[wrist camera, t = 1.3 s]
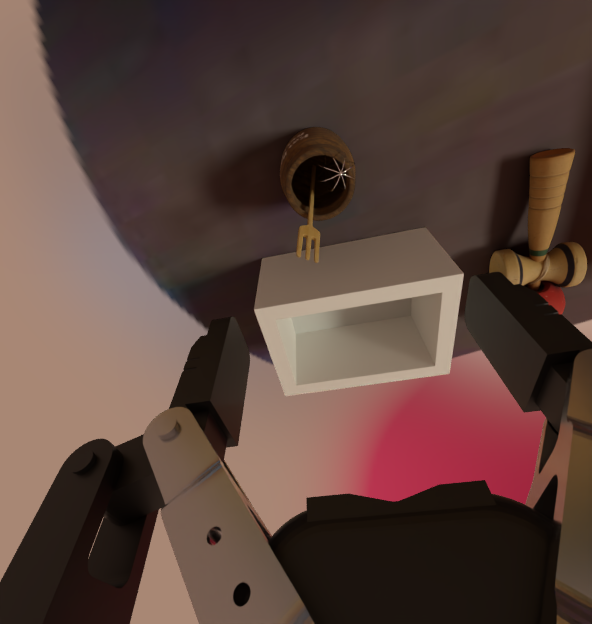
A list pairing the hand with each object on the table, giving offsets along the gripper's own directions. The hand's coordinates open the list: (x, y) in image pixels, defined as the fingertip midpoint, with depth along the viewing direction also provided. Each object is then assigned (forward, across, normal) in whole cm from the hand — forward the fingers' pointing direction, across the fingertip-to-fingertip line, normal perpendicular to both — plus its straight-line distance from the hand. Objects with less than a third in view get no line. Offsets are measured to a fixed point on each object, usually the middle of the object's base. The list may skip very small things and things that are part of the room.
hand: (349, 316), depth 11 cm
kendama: (+22, -20, +12) cm, 32 cm away
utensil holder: (+22, 0, 0) cm, 22 cm away
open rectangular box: (+22, -1, +14) cm, 26 cm away
